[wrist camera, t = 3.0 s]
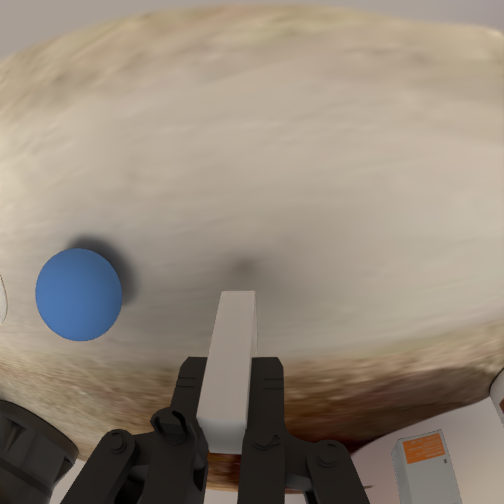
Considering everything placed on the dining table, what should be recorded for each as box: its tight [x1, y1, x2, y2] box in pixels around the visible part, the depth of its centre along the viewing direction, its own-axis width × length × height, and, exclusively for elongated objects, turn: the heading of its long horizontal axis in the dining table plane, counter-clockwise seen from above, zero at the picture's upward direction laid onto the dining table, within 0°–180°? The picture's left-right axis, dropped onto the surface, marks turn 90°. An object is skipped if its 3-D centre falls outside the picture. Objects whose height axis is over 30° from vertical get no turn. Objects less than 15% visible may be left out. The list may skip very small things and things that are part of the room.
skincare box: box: [391, 429, 462, 504], centre depth 25 cm, size 6×4×12 cm
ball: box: [35, 248, 122, 341], centre depth 17 cm, size 6×6×6 cm
